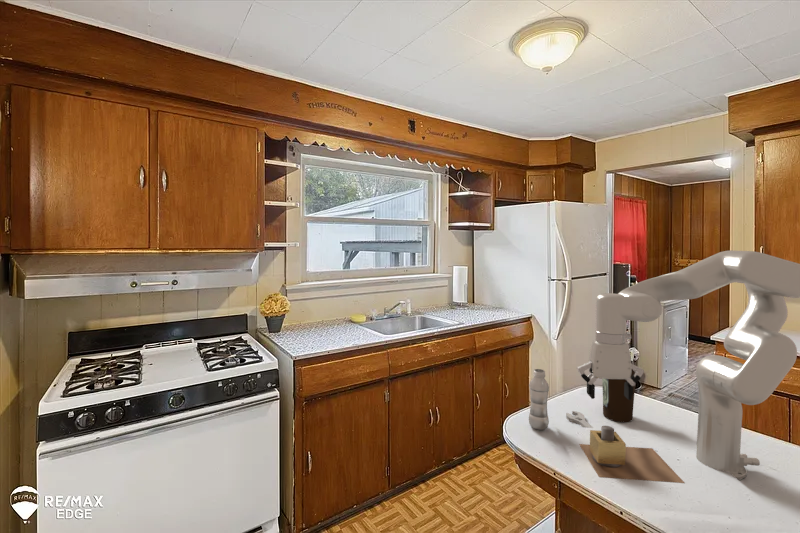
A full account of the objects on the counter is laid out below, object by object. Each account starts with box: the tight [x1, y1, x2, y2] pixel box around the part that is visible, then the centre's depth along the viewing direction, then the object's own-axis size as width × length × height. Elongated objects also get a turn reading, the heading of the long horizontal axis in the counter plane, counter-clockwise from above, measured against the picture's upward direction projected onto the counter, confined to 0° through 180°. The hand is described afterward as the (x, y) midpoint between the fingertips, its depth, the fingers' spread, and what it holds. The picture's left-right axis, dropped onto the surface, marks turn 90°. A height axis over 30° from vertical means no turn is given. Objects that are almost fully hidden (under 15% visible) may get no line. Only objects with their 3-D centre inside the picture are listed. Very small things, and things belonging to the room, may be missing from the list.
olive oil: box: [601, 369, 636, 423], centre depth 142 cm, size 11×11×25 cm
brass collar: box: [589, 429, 627, 465], centre depth 112 cm, size 7×7×6 cm
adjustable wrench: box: [565, 410, 594, 429], centre depth 133 cm, size 25×6×2 cm, turn 1°
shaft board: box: [578, 425, 685, 484], centre depth 112 cm, size 21×17×11 cm
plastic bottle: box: [528, 368, 550, 431], centre depth 135 cm, size 6×7×20 cm
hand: (609, 397), depth 111 cm, fingers open, 9 cm apart
